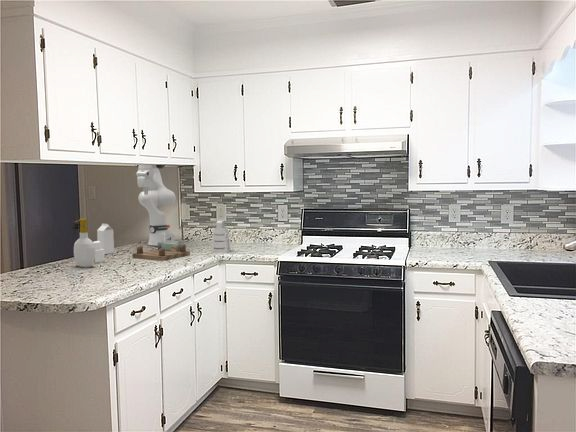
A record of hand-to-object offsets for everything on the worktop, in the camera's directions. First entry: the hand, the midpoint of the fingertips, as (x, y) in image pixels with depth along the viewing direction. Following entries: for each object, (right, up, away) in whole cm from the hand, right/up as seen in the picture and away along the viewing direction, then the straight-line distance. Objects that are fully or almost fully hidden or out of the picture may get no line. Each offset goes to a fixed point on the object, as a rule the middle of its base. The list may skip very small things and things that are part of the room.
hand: (146, 194), depth 310 cm
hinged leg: (+16, -35, -8) cm, 39 cm away
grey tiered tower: (+48, -37, +2) cm, 61 cm away
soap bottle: (-19, -42, -49) cm, 67 cm away
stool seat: (+14, -39, -16) cm, 44 cm away
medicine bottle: (-19, -40, -34) cm, 56 cm away
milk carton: (-24, -38, -4) cm, 45 cm away
